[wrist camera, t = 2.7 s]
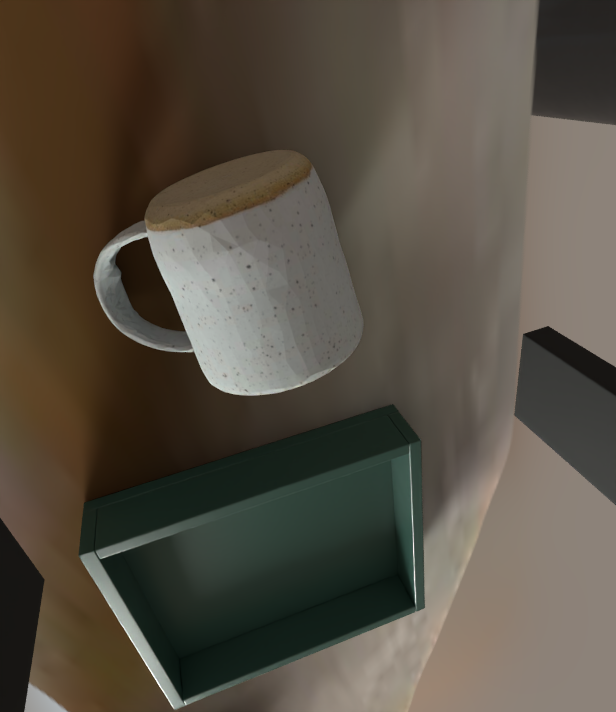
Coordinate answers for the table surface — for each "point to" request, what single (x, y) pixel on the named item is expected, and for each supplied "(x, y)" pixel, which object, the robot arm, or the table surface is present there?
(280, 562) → the tray
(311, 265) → the ceramic mug
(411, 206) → the table surface
